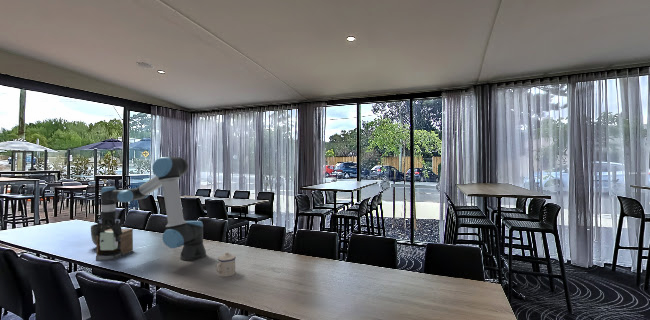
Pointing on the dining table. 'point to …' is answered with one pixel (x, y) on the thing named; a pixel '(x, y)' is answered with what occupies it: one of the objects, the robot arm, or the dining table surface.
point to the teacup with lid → (226, 265)
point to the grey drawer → (110, 254)
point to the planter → (93, 232)
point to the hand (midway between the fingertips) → (109, 246)
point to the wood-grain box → (125, 243)
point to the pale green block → (107, 240)
